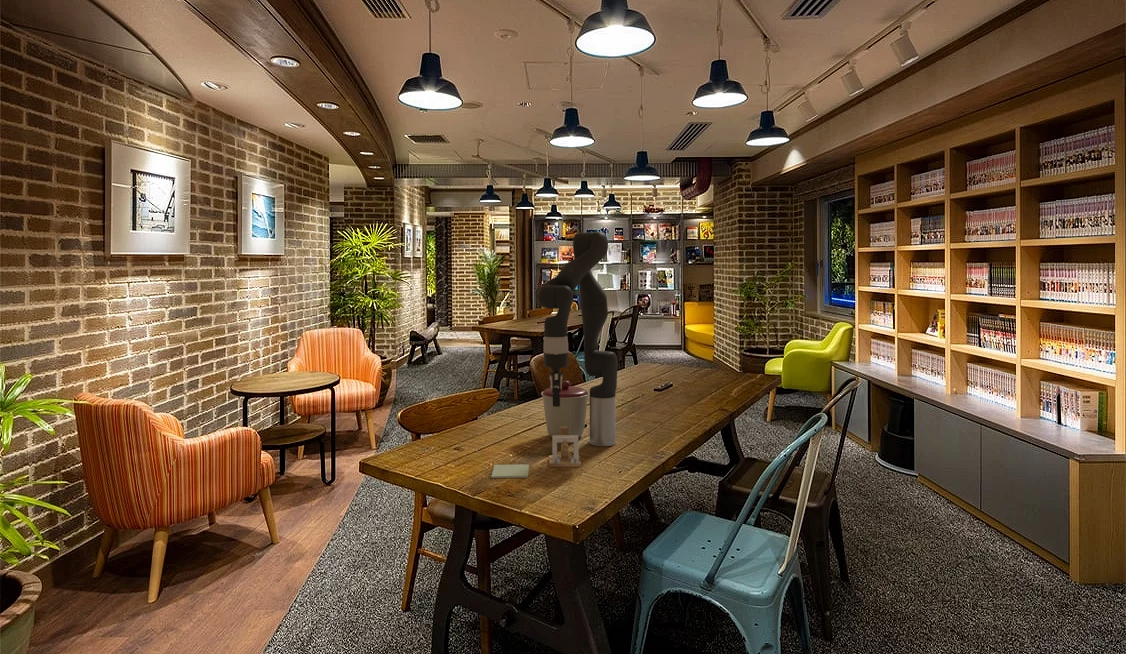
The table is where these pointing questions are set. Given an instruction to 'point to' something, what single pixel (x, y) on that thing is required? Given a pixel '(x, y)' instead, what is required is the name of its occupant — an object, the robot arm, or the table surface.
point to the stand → (564, 454)
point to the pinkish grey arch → (565, 439)
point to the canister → (566, 410)
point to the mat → (510, 471)
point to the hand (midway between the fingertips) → (556, 403)
